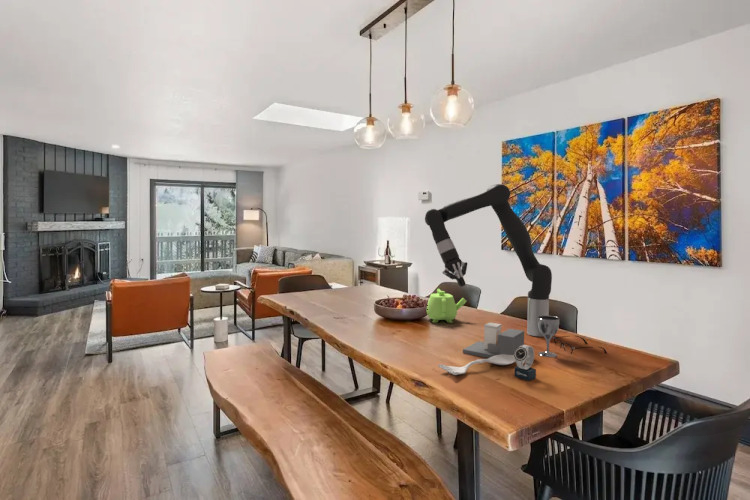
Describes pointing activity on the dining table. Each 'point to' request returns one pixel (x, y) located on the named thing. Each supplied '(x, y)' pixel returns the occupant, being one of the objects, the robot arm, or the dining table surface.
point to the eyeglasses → (572, 346)
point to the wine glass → (548, 331)
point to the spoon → (496, 359)
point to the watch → (520, 358)
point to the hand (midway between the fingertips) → (463, 286)
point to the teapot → (443, 306)
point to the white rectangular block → (491, 334)
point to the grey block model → (506, 344)
